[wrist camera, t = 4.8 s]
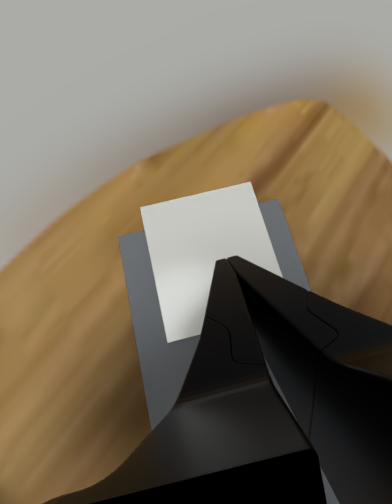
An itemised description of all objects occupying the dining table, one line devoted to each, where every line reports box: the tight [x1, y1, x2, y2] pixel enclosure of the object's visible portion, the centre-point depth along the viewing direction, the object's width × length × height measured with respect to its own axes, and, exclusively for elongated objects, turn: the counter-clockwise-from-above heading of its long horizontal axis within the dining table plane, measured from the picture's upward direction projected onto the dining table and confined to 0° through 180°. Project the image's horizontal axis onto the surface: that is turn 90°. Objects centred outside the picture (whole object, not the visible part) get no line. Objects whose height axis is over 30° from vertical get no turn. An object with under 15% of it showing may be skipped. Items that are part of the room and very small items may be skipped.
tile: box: [140, 182, 283, 343], centre depth 14 cm, size 2×7×8 cm
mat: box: [118, 199, 339, 504], centre depth 14 cm, size 19×11×1 cm, turn 14°
